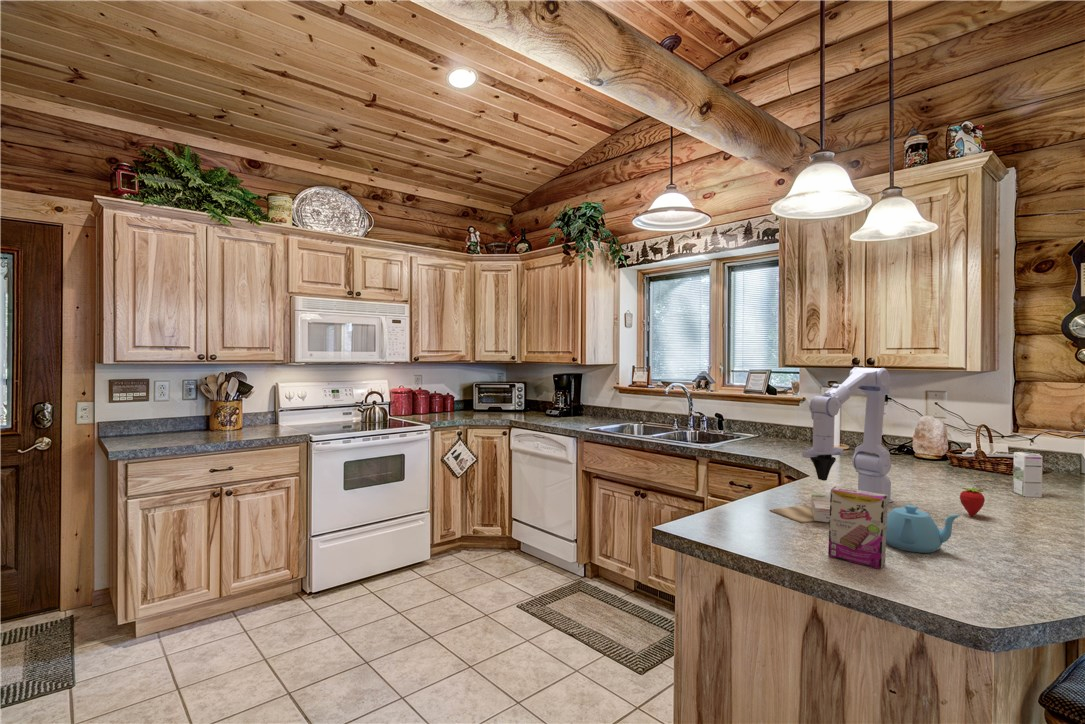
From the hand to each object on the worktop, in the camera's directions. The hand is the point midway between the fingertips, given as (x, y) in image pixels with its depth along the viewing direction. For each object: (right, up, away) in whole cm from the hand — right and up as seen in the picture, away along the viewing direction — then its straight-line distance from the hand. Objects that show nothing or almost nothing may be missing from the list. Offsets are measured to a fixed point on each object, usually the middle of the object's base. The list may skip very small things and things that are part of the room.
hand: (822, 479), depth 163 cm
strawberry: (+44, -11, -2) cm, 45 cm away
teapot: (+7, -11, -28) cm, 31 cm away
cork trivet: (-7, -10, -2) cm, 12 cm away
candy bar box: (-12, -11, -37) cm, 40 cm away
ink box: (+1, -7, 0) cm, 7 cm away
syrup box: (+83, -10, +22) cm, 86 cm away
